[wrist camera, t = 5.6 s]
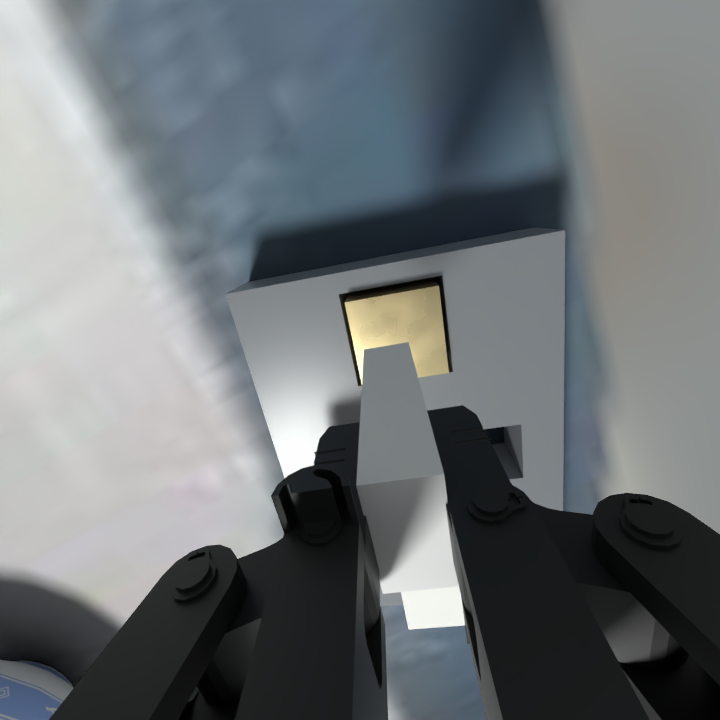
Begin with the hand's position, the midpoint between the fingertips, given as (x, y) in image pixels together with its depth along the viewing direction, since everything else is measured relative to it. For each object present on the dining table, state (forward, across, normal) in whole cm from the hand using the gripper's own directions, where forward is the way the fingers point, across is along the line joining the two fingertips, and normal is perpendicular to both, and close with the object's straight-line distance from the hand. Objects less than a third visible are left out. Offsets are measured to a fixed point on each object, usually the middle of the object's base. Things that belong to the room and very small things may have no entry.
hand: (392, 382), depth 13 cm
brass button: (+10, +1, 0) cm, 10 cm away
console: (+10, +1, -8) cm, 13 cm away
